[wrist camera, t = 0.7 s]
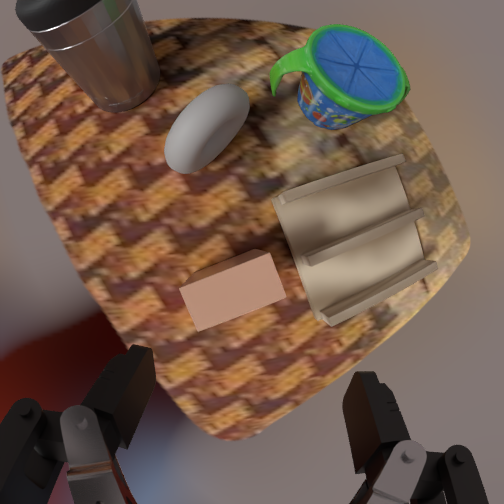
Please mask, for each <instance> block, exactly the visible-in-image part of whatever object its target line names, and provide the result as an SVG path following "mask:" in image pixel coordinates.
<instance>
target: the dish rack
mask: <svg viewBox="0 0 504 504" xmlns="http://www.w3.org/2000/svg"><path fill="white" fill-rule="evenodd" d="M404 162H406V161H405V158H404V156H403V153H402V154H399V155H395V156H392V157H389V158H385V159H382V160H379V161H375V162H372V163H369V164H366V165H363V166H359V167H356V168H353V169H350V170H347V171H344V172H341V173H338V174H334V175H331V176H328V177H325V178H322V179H319V180H316V181H313V182H311V183H308V184H305V185H302V186H299V187H296V188H293V189H290V190H287V191H285V192H283V193H281V194H280V195H279V196H278V197H275V198H273V199H272V200H271V201H272V203H273V206H274V208H275V211H276V214H277V216H278V219H279V221H280V224H281V227H282V229H283V232H284V235H285V237H286V240H287V243H288V245H289V248H290V251H291V253H292V256H293V259H294V261H295V264H296V267H297V270H298V272H299V275H300V278H301V281H302V284H303V286H304V289H305V292H306V295H307V298H308V301H309V303H310V306H311V309H312V312H313V315H314V318H315V319H316V320H317V321H319V320H321V319H323V320H324V321H325V322H326V323H328V324H329V325H330V326H331V327H332V326H334V325H336V324H338V323H340V322H342V321H344V320H346V319H348V318H350V317H352V316H354V315H356V314H358V313H360V312H362V311H364V310H366V309H368V308H370V307H372V306H374V305H376V304H378V303H380V302H381V301H383V300H385V299H387V298H389V297H391V296H392V295H394V294H396V293H398V292H400V291H401V290H403V289H405V288H407V287H409V286H410V285H412V284H414V283H415V282H417V281H419V280H421V279H422V278H424V277H426V276H427V275H429V274H431V273H432V272H434V271H435V270H437V269H438V267H437V262H436V261H430V260H424V255H423V251H422V248H421V244H420V240H419V236H418V233H417V229H416V226H415V222H414V221H415V220H418V219H420V218H422V217H424V213H423V209H422V208H417V209H410V206H409V203H408V200H407V197H406V194H405V191H404V189H403V186H402V183H401V180H400V177H399V175H398V172H397V170H396V167H395V166H396V165H399V164H401V163H404Z"/></svg>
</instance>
